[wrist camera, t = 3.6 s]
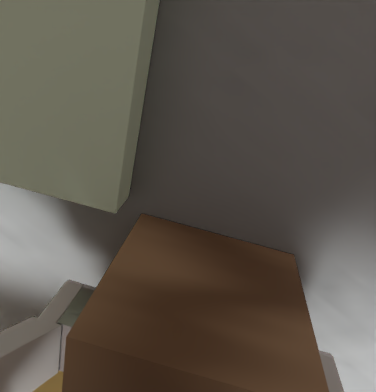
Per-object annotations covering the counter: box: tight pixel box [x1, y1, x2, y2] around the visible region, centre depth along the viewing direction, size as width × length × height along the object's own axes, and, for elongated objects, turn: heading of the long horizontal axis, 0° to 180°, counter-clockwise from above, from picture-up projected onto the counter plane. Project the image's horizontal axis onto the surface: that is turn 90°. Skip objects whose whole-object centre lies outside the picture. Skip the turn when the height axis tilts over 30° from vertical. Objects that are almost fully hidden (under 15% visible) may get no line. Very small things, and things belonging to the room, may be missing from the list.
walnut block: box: [62, 214, 329, 392], centre depth 9 cm, size 5×5×5 cm
